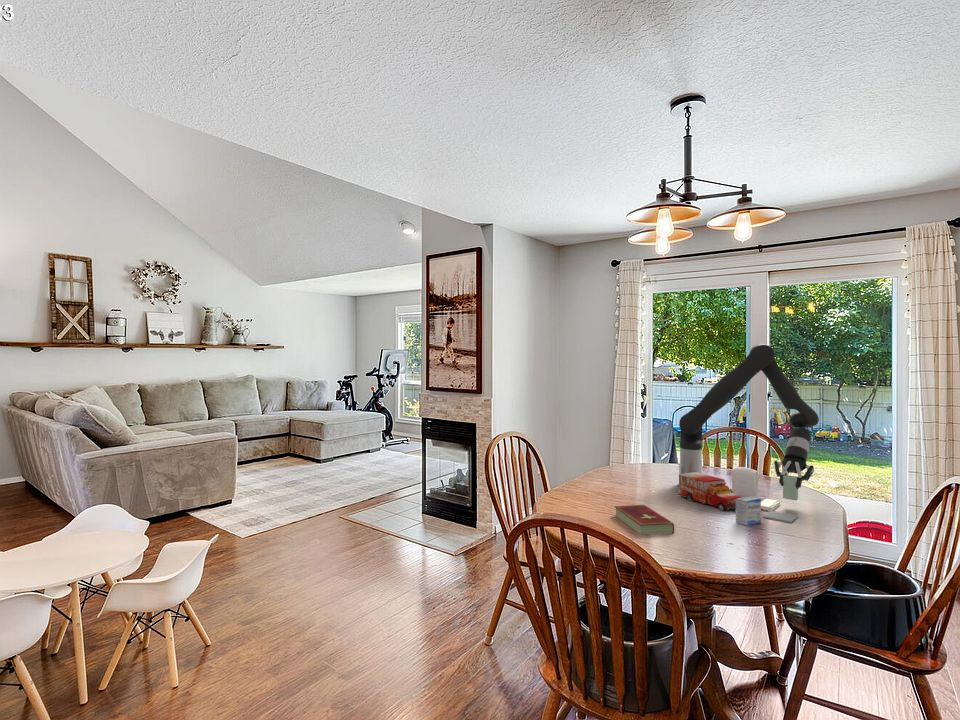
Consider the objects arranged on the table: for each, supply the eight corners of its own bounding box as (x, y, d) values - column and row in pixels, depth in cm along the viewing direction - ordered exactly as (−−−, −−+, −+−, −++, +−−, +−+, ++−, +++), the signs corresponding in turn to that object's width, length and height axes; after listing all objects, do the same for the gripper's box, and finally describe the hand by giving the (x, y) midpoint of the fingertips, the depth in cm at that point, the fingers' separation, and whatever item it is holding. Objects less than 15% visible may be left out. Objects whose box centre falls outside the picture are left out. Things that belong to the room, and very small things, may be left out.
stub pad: (763, 517, 181) (763, 516, 181) (770, 512, 187) (770, 510, 187) (791, 523, 175) (791, 521, 175) (797, 517, 181) (797, 515, 181)
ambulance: (725, 513, 186) (725, 487, 186) (676, 497, 209) (676, 473, 209) (746, 510, 190) (746, 484, 190) (696, 494, 213) (696, 471, 213)
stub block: (782, 498, 193) (783, 476, 193) (784, 496, 195) (785, 475, 195) (796, 500, 190) (796, 478, 190) (798, 498, 192) (798, 476, 192)
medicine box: (747, 526, 171) (747, 501, 171) (735, 522, 175) (735, 498, 175) (761, 523, 175) (761, 498, 175) (749, 519, 179) (749, 495, 179)
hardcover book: (645, 515, 185) (645, 503, 185) (674, 534, 165) (674, 521, 165) (614, 516, 184) (614, 505, 184) (640, 536, 163) (640, 523, 163)
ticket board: (757, 508, 192) (757, 504, 192) (765, 502, 200) (765, 498, 200) (771, 511, 188) (771, 507, 188) (780, 504, 197) (780, 500, 197)
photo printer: (730, 495, 211) (730, 466, 211) (734, 493, 214) (734, 465, 214) (755, 500, 203) (755, 470, 203) (760, 498, 206) (760, 469, 206)
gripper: (775, 442, 203) (766, 477, 194) (816, 447, 193) (809, 484, 184) (778, 454, 207) (770, 488, 198) (819, 459, 197) (812, 495, 188)
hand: (789, 486), depth 191 cm, fingers closed on stub block, 4 cm apart
